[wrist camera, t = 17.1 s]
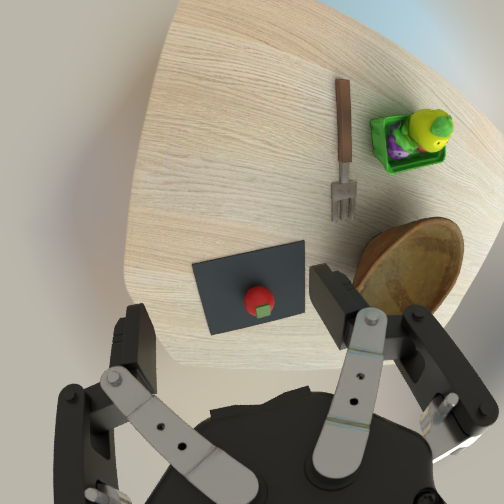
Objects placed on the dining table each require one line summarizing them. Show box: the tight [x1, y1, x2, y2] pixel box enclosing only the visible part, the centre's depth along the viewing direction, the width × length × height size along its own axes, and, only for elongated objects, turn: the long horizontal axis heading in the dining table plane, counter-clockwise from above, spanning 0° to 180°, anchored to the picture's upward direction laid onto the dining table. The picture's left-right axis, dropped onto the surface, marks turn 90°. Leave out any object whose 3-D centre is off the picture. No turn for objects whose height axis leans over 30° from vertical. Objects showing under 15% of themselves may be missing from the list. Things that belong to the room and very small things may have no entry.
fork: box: [331, 79, 357, 222], centre depth 37 cm, size 20×4×1 cm, turn 6°
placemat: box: [192, 240, 305, 335], centre depth 45 cm, size 16×14×1 cm
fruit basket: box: [370, 109, 454, 174], centre depth 32 cm, size 11×9×11 cm
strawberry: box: [244, 286, 274, 318], centre depth 43 cm, size 4×4×4 cm
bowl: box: [353, 217, 464, 315], centre depth 44 cm, size 22×23×10 cm
